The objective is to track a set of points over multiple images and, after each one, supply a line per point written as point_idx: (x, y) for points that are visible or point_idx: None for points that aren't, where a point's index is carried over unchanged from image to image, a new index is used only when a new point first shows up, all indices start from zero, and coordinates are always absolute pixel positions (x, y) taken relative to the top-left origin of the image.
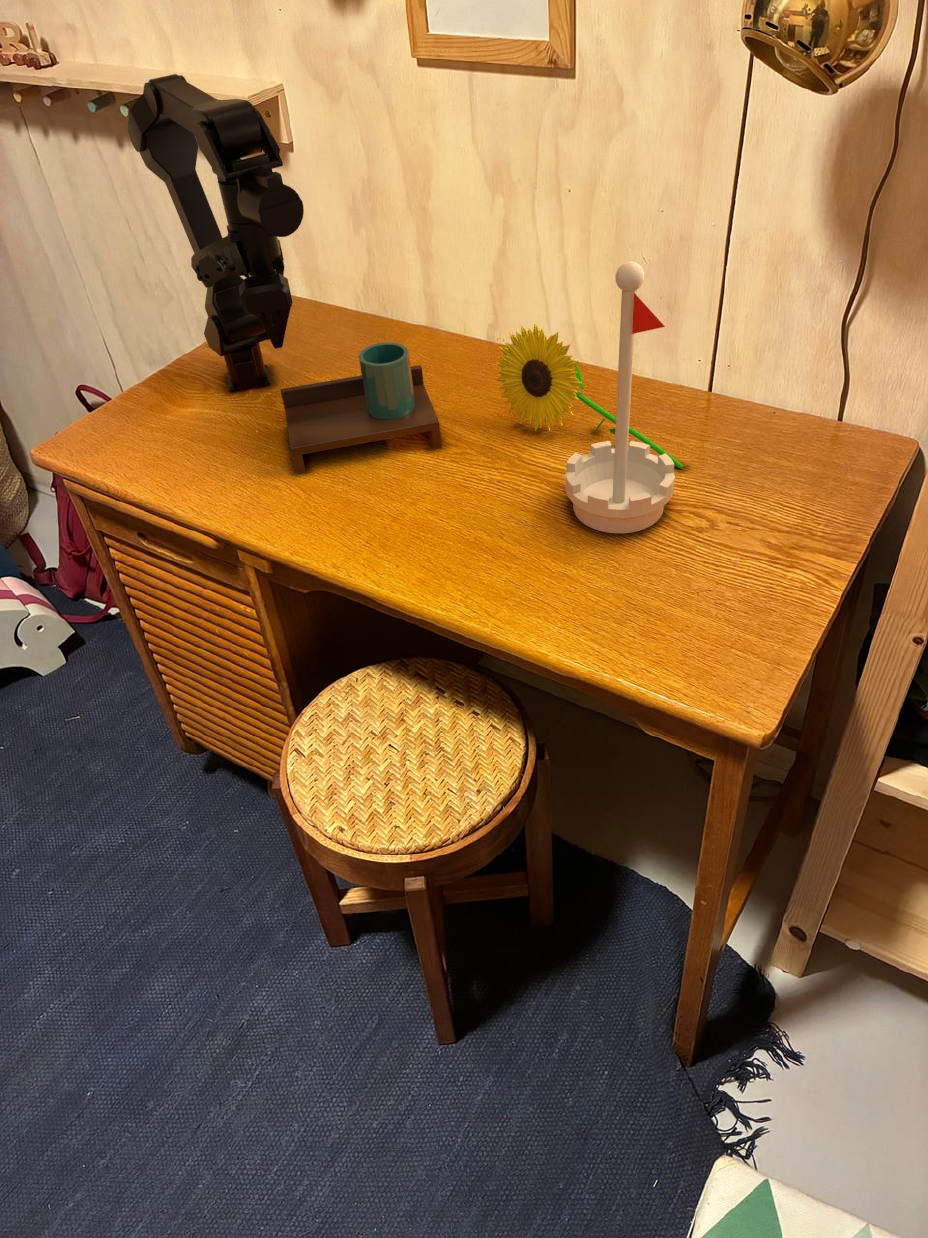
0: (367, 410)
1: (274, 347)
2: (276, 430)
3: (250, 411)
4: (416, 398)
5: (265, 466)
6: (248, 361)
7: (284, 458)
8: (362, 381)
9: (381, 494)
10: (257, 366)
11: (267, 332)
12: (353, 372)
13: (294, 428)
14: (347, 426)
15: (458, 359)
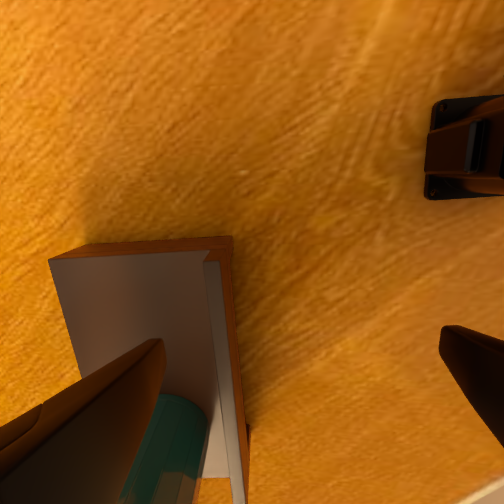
0: (159, 396)
1: (146, 341)
2: (237, 210)
3: (328, 156)
4: None
5: (115, 190)
6: (469, 162)
7: (137, 224)
8: (142, 449)
9: (23, 357)
10: (470, 180)
11: (66, 391)
12: (405, 350)
13: (122, 267)
14: (114, 359)
15: (376, 489)
